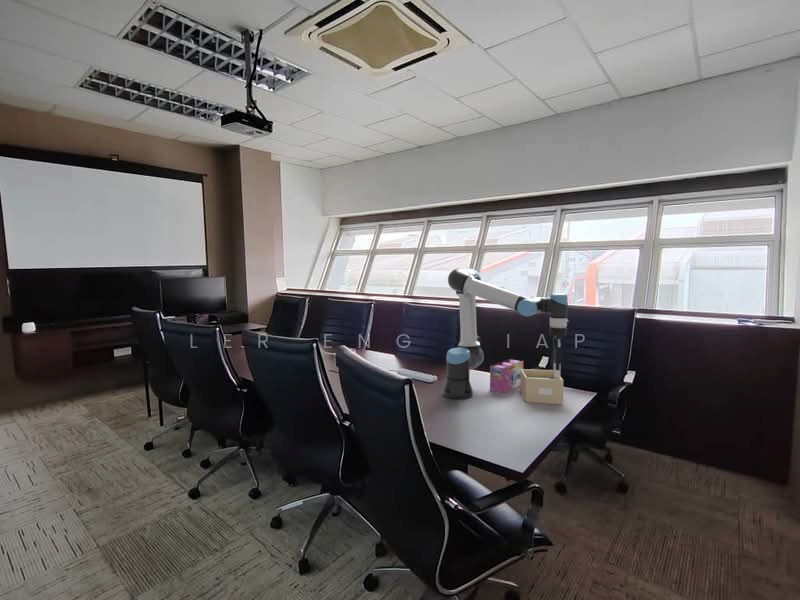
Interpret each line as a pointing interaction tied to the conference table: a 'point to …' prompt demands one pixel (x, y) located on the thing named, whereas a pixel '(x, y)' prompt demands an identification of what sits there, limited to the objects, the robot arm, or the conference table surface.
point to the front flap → (544, 390)
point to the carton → (534, 374)
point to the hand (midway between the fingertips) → (556, 375)
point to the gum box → (505, 375)
